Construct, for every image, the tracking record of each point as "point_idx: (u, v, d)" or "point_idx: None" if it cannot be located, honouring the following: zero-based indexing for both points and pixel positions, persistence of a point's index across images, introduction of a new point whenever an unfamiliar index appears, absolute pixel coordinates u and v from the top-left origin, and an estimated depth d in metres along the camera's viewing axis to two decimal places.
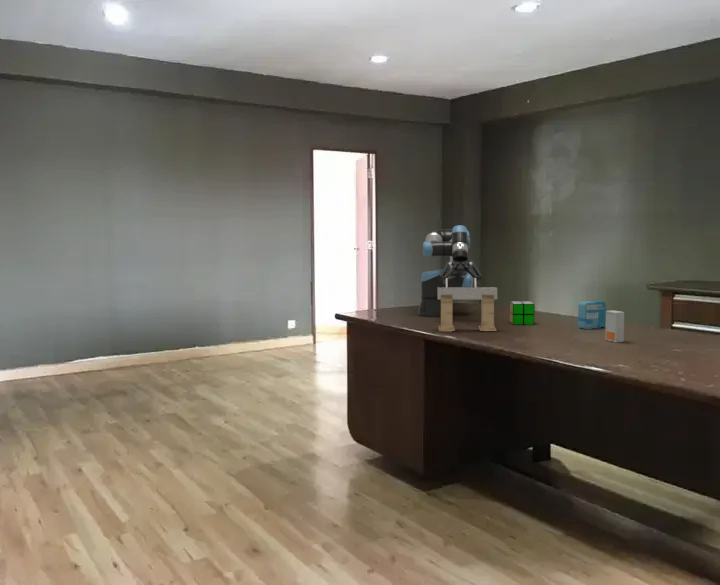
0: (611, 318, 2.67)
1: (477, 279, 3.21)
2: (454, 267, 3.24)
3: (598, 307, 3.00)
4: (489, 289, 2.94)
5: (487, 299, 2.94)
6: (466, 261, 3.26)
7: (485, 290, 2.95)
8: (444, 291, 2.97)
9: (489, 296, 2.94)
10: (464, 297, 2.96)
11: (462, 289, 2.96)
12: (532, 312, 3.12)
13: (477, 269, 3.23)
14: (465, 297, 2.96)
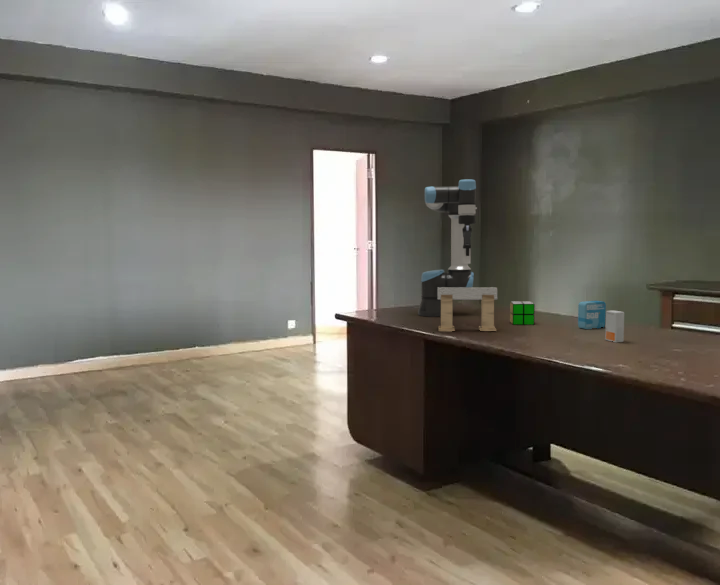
0: (611, 318, 2.67)
1: None
2: None
3: (598, 307, 3.00)
4: (489, 289, 2.94)
5: (487, 299, 2.94)
6: None
7: (485, 290, 2.95)
8: (444, 291, 2.97)
9: (489, 296, 2.94)
10: (464, 297, 2.96)
11: (462, 289, 2.96)
12: (532, 312, 3.12)
13: None
14: (465, 297, 2.96)
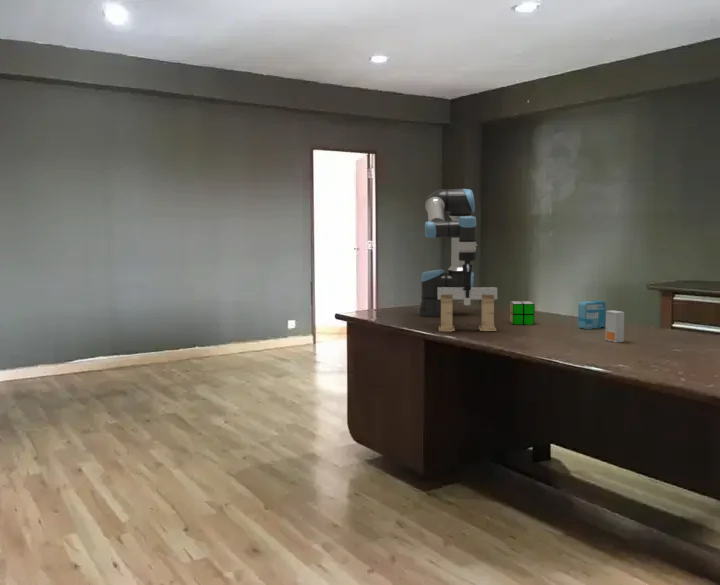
0: (611, 318, 2.67)
1: None
2: None
3: (598, 307, 3.00)
4: (489, 289, 2.94)
5: (487, 299, 2.94)
6: None
7: (485, 290, 2.95)
8: (444, 291, 2.97)
9: (489, 296, 2.94)
10: None
11: (462, 289, 2.96)
12: (532, 312, 3.12)
13: None
14: None
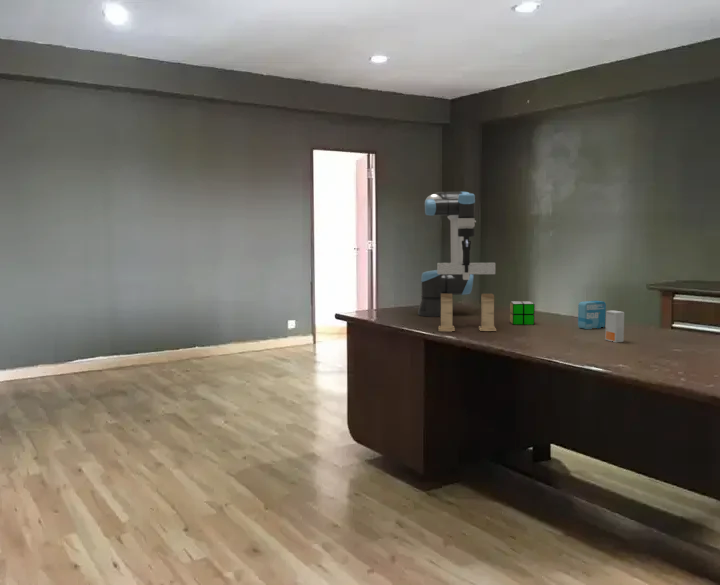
0: (611, 318, 2.67)
1: None
2: None
3: (598, 307, 3.00)
4: (487, 264, 3.03)
5: (487, 299, 2.94)
6: None
7: (483, 265, 3.03)
8: (443, 266, 3.05)
9: (489, 296, 2.94)
10: None
11: (461, 264, 3.04)
12: (532, 312, 3.12)
13: None
14: None
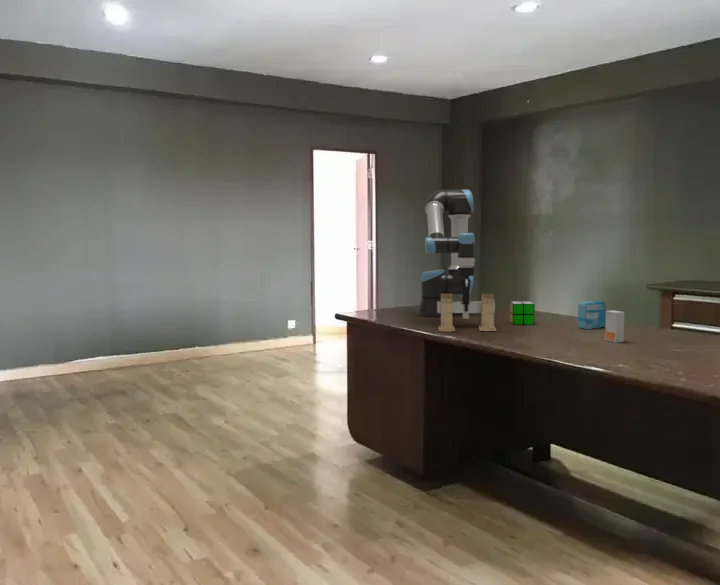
0: (611, 318, 2.67)
1: None
2: (469, 287, 3.06)
3: (598, 307, 3.00)
4: None
5: (487, 299, 2.94)
6: None
7: None
8: None
9: (489, 296, 2.94)
10: None
11: (461, 303, 3.06)
12: (532, 312, 3.12)
13: None
14: None
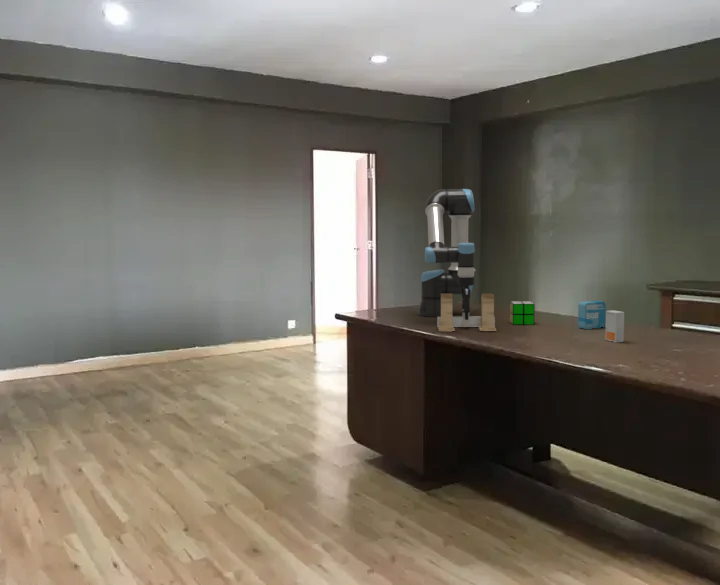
0: (611, 318, 2.67)
1: None
2: None
3: (598, 307, 3.00)
4: None
5: (487, 299, 2.94)
6: None
7: None
8: None
9: (489, 296, 2.94)
10: None
11: (461, 318, 3.07)
12: (532, 312, 3.12)
13: None
14: None
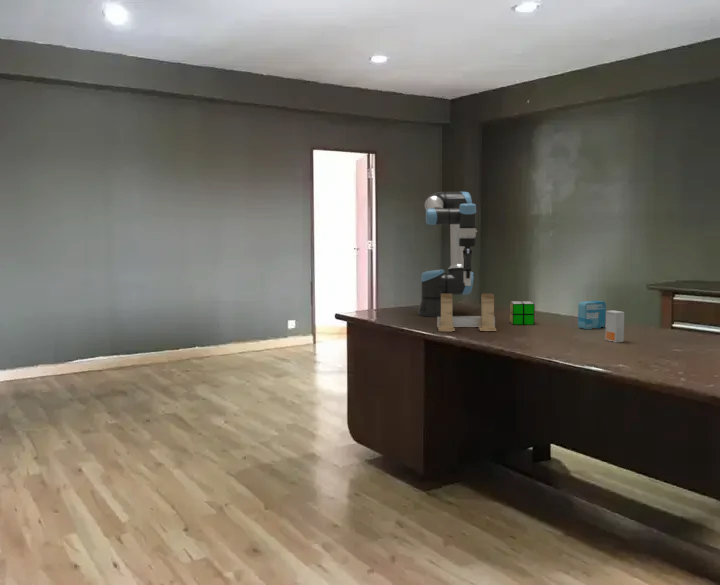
0: (611, 318, 2.67)
1: None
2: (471, 257, 3.04)
3: (598, 307, 3.00)
4: None
5: (487, 299, 2.94)
6: None
7: None
8: None
9: (489, 296, 2.94)
10: (463, 326, 3.07)
11: (461, 318, 3.07)
12: (532, 312, 3.12)
13: None
14: (464, 326, 3.07)
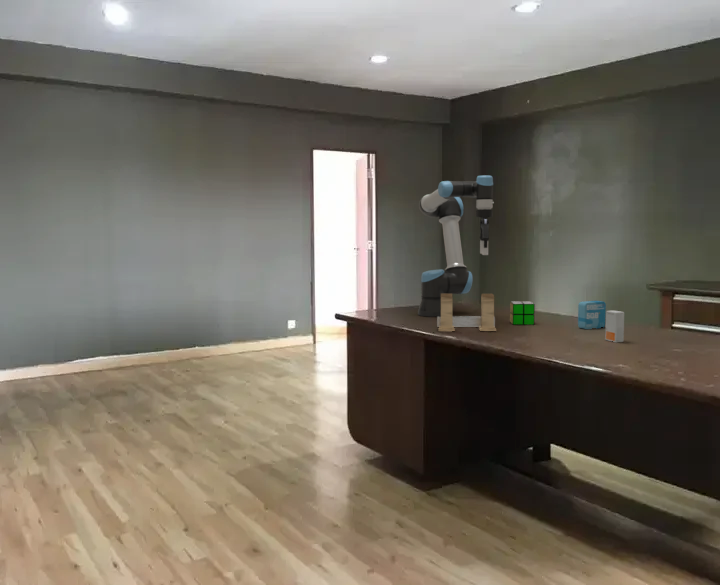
0: (611, 318, 2.67)
1: None
2: (488, 228, 3.12)
3: (598, 307, 3.00)
4: None
5: (487, 299, 2.94)
6: None
7: None
8: None
9: (489, 296, 2.94)
10: (463, 326, 3.07)
11: (461, 318, 3.07)
12: (532, 312, 3.12)
13: None
14: (464, 326, 3.07)
